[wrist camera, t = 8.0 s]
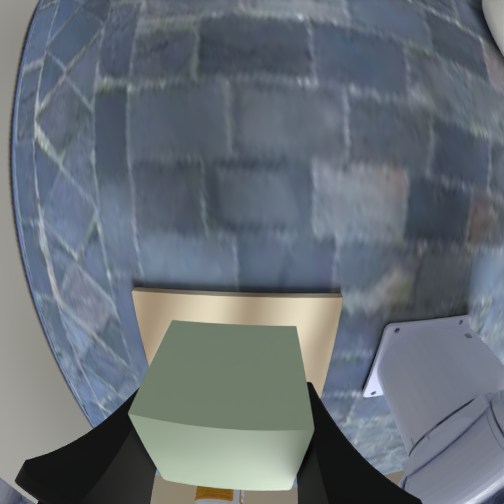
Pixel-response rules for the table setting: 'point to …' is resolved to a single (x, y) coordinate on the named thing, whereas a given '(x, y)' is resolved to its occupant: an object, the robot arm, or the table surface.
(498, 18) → the flower in vase
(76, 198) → the table surface
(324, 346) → the wooden board
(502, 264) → the table surface
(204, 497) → the supplement bottle
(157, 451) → the sage cube
